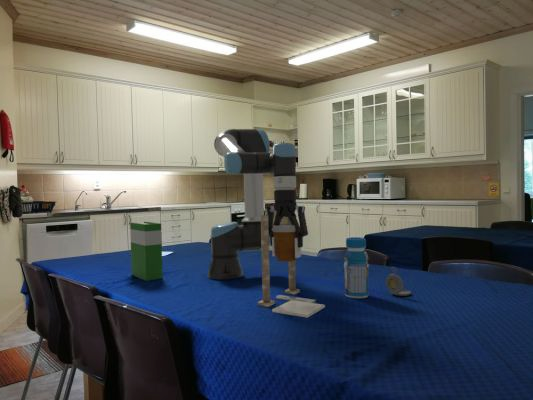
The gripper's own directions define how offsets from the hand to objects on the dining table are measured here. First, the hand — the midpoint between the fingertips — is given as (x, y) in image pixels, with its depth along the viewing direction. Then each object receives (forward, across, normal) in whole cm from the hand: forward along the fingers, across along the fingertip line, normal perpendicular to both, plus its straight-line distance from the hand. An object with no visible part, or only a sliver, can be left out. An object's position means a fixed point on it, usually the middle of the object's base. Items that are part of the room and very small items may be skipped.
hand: (286, 256), depth 139 cm
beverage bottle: (+15, +19, +16) cm, 29 cm away
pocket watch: (+15, +31, +24) cm, 42 cm away
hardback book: (+14, -75, +4) cm, 77 cm away
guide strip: (+15, +3, 0) cm, 15 cm away
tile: (+15, +9, -8) cm, 19 cm away
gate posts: (+15, -3, 0) cm, 15 cm away
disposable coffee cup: (+1, 0, 0) cm, 1 cm away
